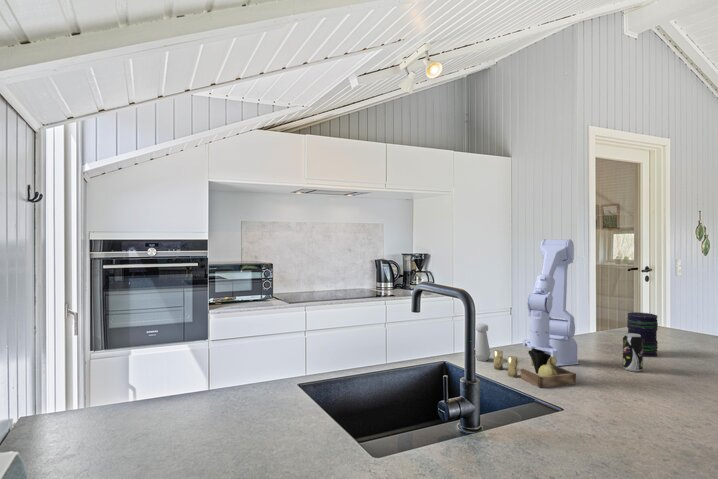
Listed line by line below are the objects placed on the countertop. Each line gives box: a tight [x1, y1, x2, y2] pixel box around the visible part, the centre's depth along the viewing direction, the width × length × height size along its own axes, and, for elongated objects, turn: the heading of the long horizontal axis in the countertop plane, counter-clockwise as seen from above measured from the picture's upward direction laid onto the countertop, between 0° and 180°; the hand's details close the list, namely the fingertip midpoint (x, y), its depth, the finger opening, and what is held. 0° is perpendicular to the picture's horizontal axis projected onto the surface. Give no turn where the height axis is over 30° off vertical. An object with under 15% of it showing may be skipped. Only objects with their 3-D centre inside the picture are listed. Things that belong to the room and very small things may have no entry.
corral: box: [520, 366, 577, 389], centre depth 137 cm, size 13×9×3 cm
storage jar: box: [626, 311, 659, 358], centre depth 168 cm, size 10×10×15 cm
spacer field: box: [493, 348, 557, 378], centre depth 148 cm, size 18×11×6 cm, turn 106°
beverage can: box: [622, 332, 644, 373], centre depth 148 cm, size 6×6×12 cm
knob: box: [537, 364, 557, 377], centre depth 138 cm, size 5×5×5 cm
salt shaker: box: [475, 323, 491, 362], centre depth 161 cm, size 6×6×13 cm
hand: (539, 373), depth 141 cm, fingers closed
